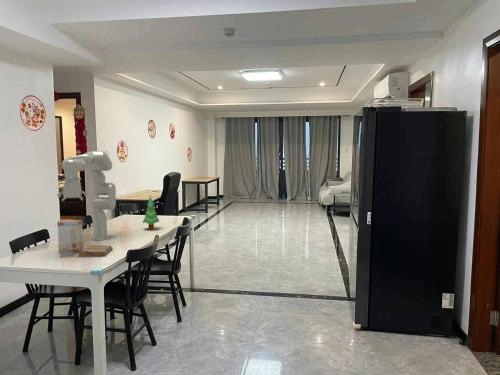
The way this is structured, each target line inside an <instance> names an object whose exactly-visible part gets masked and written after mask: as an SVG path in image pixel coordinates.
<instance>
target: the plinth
mask: <svg viewBox="0 0 500 375" xmlns="http://www.w3.org/2000/svg"><path fill="white" fill-rule="evenodd" d="M112 251H113V246H111V245H88V246H86V248H83V250H82V251H81V252H78V255H77V256H78V258H94V257H95V258H97V257H99V258H103V257H106V256H107V255H109V253H111V252H112Z"/></svg>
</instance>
